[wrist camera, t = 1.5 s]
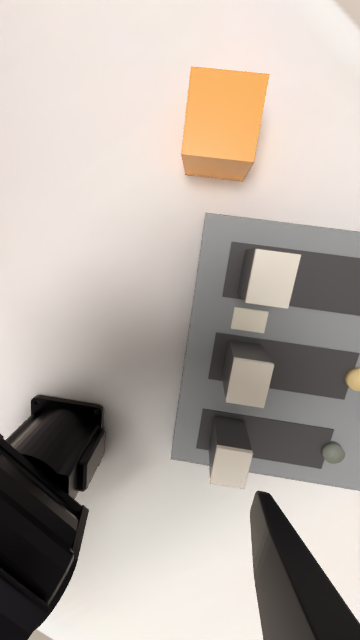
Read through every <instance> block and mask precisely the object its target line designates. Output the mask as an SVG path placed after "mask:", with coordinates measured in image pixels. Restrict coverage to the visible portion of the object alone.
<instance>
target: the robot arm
mask: <svg viewBox="0 0 360 640" xmlns="http://www.w3.org/2000/svg"><path fill="white" fill-rule="evenodd" d="M37 401H38V402H37ZM96 410H98V411H99V412H97V411H96ZM103 414H104V410H103V407H102V406H100V405H96V404H90V403H83V402H77V401H71V400H65V399H59V398H52V397H46V396H40V395H37V396H35V397H34V398H33V399H32V400H31V416H30V417H29V418H28V419H27V420H26V421H25V422H24V423H23V424H22V425H21V426H20V427H19V428H18V429H17V430H16V431H15V432H13V433H12V434H11V435H10V436H9V437H8V438H7V439H6V440H4V439H3V436H2V435H1V434H0V640H28V638H29V637H30V635H31V634H32V632H33V631H34V630H35V629H37V628H38V627H39V626H40V625H41V624H42V623H43V622H44V621H45V620H46V618H47V617H48V616H49V614H50V613H51V612H52V611H53V609H54V608H55V606H56V605H57V603H58V602H59V600H60V598H61V597H62V595H63V593H64V591H65V590H66V588H67V586H68V584H69V582H70V580H71V577H72V575H73V572H74V570H75V567H76V564H77V560H78V556H79V551H80V547H81V542H82V538H83V534H84V529H85V525H86V520H87V516H88V512H89V510H88V509H87V508H86V507H85V506H84V505H82V506H81V505H80V504H79V503H78V502H77V501H75V500H74V499H75V497H76V495H77V493H78V491H82V492H83V491H85V490H86V489H87V487H88V485H89V483H90V481H91V479H92V477H93V475H94V473H95V471H96V469H97V467H98V466H99V464H100V462H101V458H102V456H103V454H104V448H105V429H104V428H103ZM250 523H251V539H252V555H253V570H254V579H255V587H256V593H257V600H258V607H259V613H260V620H261V626H262V633H263V639H264V640H360V623H359V622H358V620H357V619H356V618H355V616H354V615H353V613H352V612H351V610H350V609H349V607H348V606H347V605H346V603H345V602H344V600H343V599H342V597H341V596H340V594H339V593H338V591H337V590H336V589H335V587H334V586H333V584H332V583H331V581H330V580H329V578H328V577H327V576H326V574H325V573H324V571H323V570H322V568H321V567H320V565H319V564H318V563H317V561H316V560H315V558H314V557H313V555H312V554H311V552H310V551H309V549H308V548H307V547H306V545H305V544H304V542H303V541H302V539H301V538H300V536H299V535H298V534H297V532H296V531H295V529H294V528H293V526H292V525H291V523H290V522H289V521H288V519H287V518H286V516H285V515H284V513H283V512H282V510H281V509H280V508H279V506H278V505H277V503H276V502H275V500H274V499H273V497H272V496H271V495H270V494H269V493H267V492H262V491H257V492H256V493H255V496H254V500H253V503H252V506H251V510H250Z"/></svg>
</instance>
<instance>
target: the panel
mask: <svg viewBox="0 0 360 640" xmlns="http://www.w3.org/2000/svg"><path fill="white" fill-rule="evenodd" d="M246 249H262V250H269V251H277V252H285V253H292V254H300V255H301V258H300V262H299V266H298V270H297V274H296V278H295V282H294V286H293V291H292V295H291V299H290V303H289V307H288V309H286V308H279V307H272V306H265V305H258V304H250V303H245V301H244V300H243V299H242V298H241V297H240V296H239V295H238V288H239V283H240V277H241V272H242V267H243V261H244V256H245V251H246ZM229 340H231V341H238V342H244V343H251V344H258V345H262V347H263V348H264V350H265V351H266V353H267V354H268V356H269V357H270V359H271V361H272V362H273V364H274V369H273V373H272V377H271V381H270V385H269V389H268V394H267V398H266V402H265V406H264V408H259V407H252V406H246V405H240V404H233V403H227V402H226V399H225V393H224V387H223V381H222V374H223V368H224V363H225V358H226V352H227V347H228V342H229ZM214 416H217V417H223V418H229V419H235V420H242V421H245V425H246V429H247V433H248V437H249V441H250V445H251V448H252V452H253V455H252V460H251V464H250V468H249V472H251V473H257V474H263V475H269V476H275V477H281V478H286V479H292V480H298V481H304V482H310V483H316V484H322V485H328V486H334V487H340V488H346V489H352V490H358V491H360V232H357V231H349V230H341V229H333V228H325V227H317V226H309V225H301V224H293V223H285V222H277V221H269V220H261V219H253V218H245V217H237V216H229V215H221V214H213V213H206V215H205V222H204V229H203V236H202V243H201V250H200V257H199V264H198V271H197V278H196V285H195V292H194V299H193V306H192V313H191V320H190V327H189V334H188V341H187V348H186V355H185V362H184V369H183V376H182V383H181V390H180V397H179V404H178V411H177V418H176V425H175V432H174V439H173V446H172V453H171V459H173V460H179V461H185V462H191V463H197V464H203V465H209V443H210V438H211V432H212V427H213V422H214Z"/></svg>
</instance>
